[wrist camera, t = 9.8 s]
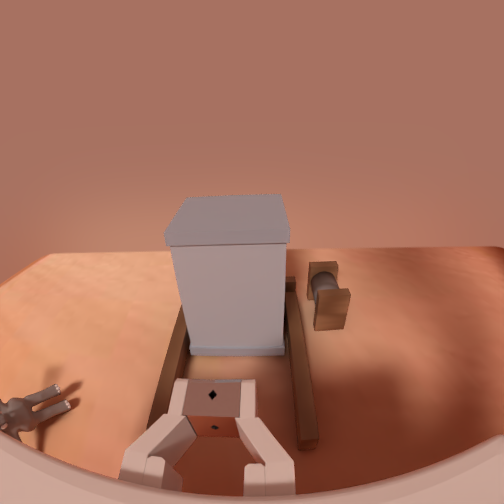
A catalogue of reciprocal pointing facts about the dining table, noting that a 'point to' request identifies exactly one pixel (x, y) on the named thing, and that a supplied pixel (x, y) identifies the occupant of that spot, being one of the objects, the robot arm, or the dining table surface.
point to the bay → (326, 318)
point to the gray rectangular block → (231, 272)
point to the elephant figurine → (29, 411)
